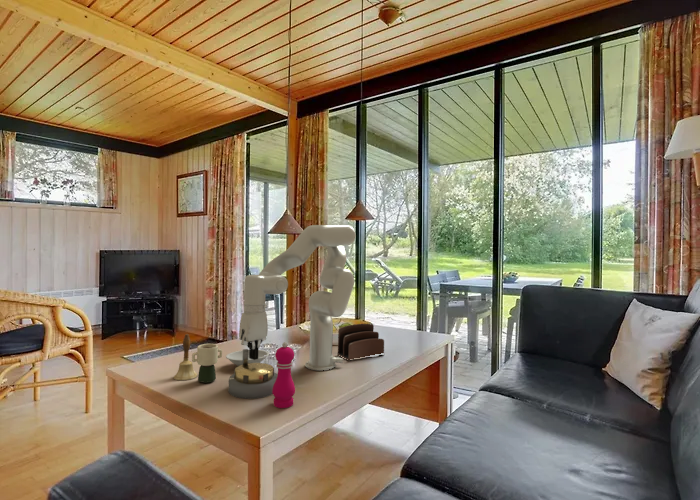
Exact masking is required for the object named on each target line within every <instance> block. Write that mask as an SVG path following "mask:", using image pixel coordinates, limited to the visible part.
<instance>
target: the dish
mask: <svg viewBox="0 0 700 500" xmlns="http://www.w3.org/2000/svg"><path fill="white" fill-rule="evenodd" d="M264 355H266V356H264ZM269 355H270V352H269V351H267V350H264V349H258V359H256V360H253V359H250V358H249V351H248V364H249V363H263V361H264V360H265V359H266V358H267V357H269ZM225 358H226V359H227V360H229V362H230V363H232V364H234V365H235V366H237V367H238V366H240V365H242V361H243V349H242V350H237V351H231V352H230V353H227V354H226V355H225Z"/></svg>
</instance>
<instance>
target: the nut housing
mask: <svg viewBox="0 0 700 500" xmlns="http://www.w3.org/2000/svg"><path fill="white" fill-rule="evenodd" d="M277 375H278V373H277V372H274V376H273V378H272V379H271V380H269V381H267V382H263V383H257V384H245V383H240V382H238V381H236V380H235V379H234V373H233V374H231V376H229V378H228V394H229V395H231V396H232V397H234V398H239V399H248V400H250V399H252V400H254V399H261V398H265V397H269V396H271V395H273V393H272V390H273V386H274V383H275V381H276V379H277Z"/></svg>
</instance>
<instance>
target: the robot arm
mask: <svg viewBox="0 0 700 500" xmlns="http://www.w3.org/2000/svg"><path fill="white" fill-rule="evenodd" d="M356 236H357V235H356V231H355V229H354V228H353V226H351V225H348V224H338V225H337V224H333V225H332V224H331V225H329V224H327V225H326V224H313V225H311V224H310V225H309V226H306V227H305V228H304V229H303V230H302V232H301V233H300V234H299V235H298V237H297V238H296V239H295V240H294V241H293V243H291V245H289V246H288V248H287V249H286V250H285V251H283V252H281V253H280V254H279V255H277V256H276V257H274V258H273V259H271V260H270V261H269V262H268V263H267V264H266V265H265V266H264V267H263V269H261V271H260V272H259V273H258V274H249V275H246V276H245V278H244V285H243V286H244V291H243V293H244V296H243V300H244V301H243V302H244V303H243V312H242V313H241V317H240V321H239V329H238V330H239V331H238V339H239V340H240V341H241V343H240V344H241V346H246V347H247V349H248V350H249V358H250V359H253V360H256V359H258V350H260V348H261V344H262V343H263V342H264V341H266V340H267V337H268V331H269V330H268V329H269V327H268V325H269V324H268V323H269V322H268V315H267V312H266V308H267V304H266V295H281V294H283V293H285V291H286V290H287V289H288V286H289V282H288V280H287V278H286V277H285V276H284V275H282V274H284V273H285V272H287V271H290V270H291V269H295V268H297V267H299V266H302V265H304V264H305V263H306V262H307V261H308V259H309V258H310V256H311V255H312V254H313V253H314V251H315V250H316V249H317V248H318V247H326V252H327V253H326V254H327V255H326V258H325V262H324V265H323V267H322V271H321V275H320V276H319V283H320V286H321V287H322V288H324V289H328V290H331V292H330V291H326V290H317V291H315V292H313V293H312V294H311V295H310V296H309V298H308V299H309V300H308V310H309V311H308V312H309V321H310V323H309V327H310V328H309V357H308V358H309V359H308V360H307V361H306V362H305V365H304V366H305V367H306V369H308V370H312V371H317V372H319V371H320V372H321V371H323V370H324V371H330V370H332V368H333V369H335V368H336V363H340V364H341V363H344V359H343V358H341V357H339V356H334V355H333V338H334V337H333V333H334V321H333V318H340V317H342V316H343V314H344V313H345V312H346V310H347V307H348V304H349V301H350V298H351V295H352V291H353V290H354V289H353V288H354V286H355V285H354V284H355V278H354V274H353V273H352V271H351V270H350V269H348V268H345V266H346V262H347V251H346V249H345V246H346V247H347V246H351V245H352V244H353V243H354V242H355V240H356ZM334 367H335V368H334ZM329 369H330V370H329Z"/></svg>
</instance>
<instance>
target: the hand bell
mask: <svg viewBox="0 0 700 500" xmlns="http://www.w3.org/2000/svg"><path fill="white" fill-rule="evenodd" d="M182 340H183V341H182V348H183V360H182V361H180V363H179V367H178V369H177V372H176V373H175V375H173V379H174V380H176V381H189V380H190V381H191V380H193V379H195V378H198V373H197V372H196V371H195V369H194V367H193V362H192V360H191V361H190V360H189V355H190V353H189V351H190V347H191V339H190V335H189V334H188V333H186V334H184V338H183V339H182Z"/></svg>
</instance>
